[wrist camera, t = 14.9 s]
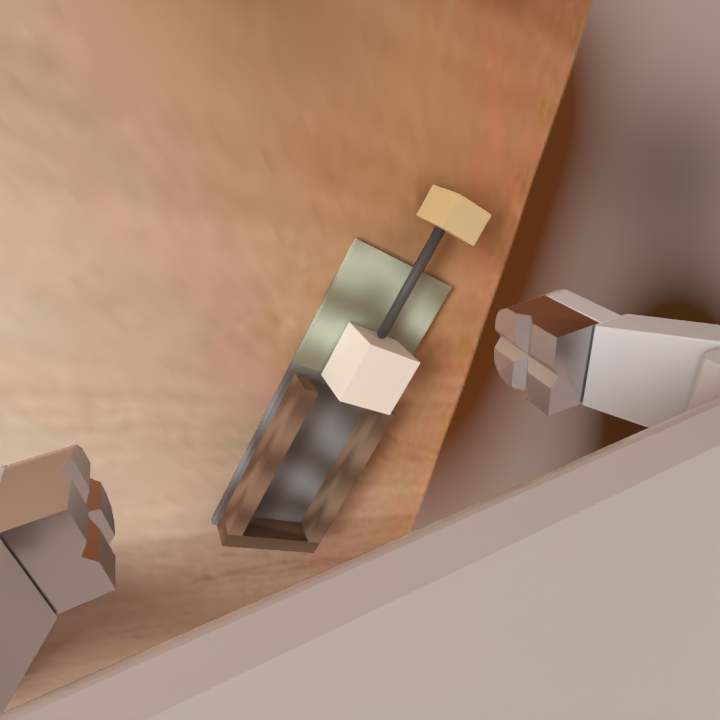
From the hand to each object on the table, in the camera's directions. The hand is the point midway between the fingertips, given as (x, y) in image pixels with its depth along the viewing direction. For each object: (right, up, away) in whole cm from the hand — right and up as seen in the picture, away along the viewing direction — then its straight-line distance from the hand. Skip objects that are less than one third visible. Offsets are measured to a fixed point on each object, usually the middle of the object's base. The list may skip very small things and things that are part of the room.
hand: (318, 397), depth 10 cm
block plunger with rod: (+4, +7, +40) cm, 40 cm away
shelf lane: (-2, -3, +44) cm, 44 cm away
